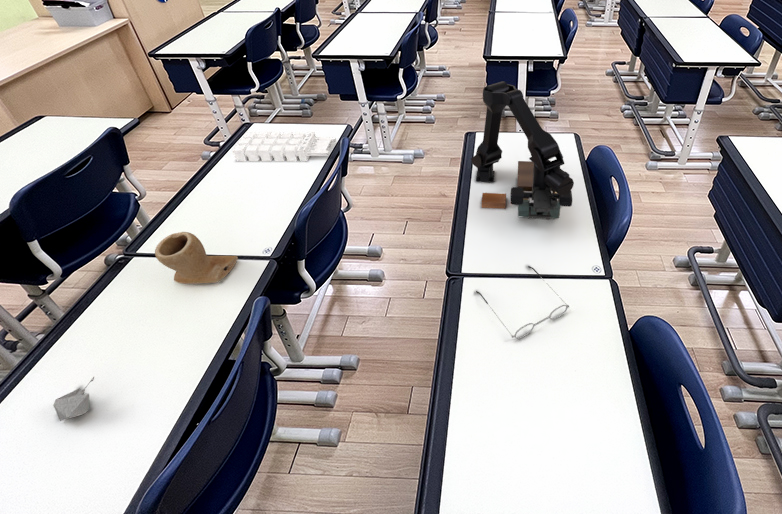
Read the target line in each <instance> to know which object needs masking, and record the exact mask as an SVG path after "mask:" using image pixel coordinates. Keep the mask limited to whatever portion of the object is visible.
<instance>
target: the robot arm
mask: <svg viewBox="0 0 782 514" xmlns="http://www.w3.org/2000/svg"><path fill="white" fill-rule="evenodd" d="M482 102H483V103H484V105H485V107H486V113H485V120H484V121H485V122H484V130H483V136H482V137H483V138H482V141H481V142H480V144H479V145H478V147H476V152H475V155H474V156H472V157H471V158H470V160H471V164H472V165H473V166H474V167H475V168H476V169H477V171H476V176H475V182H478V183H494V182H495V174H496V173H495V170H494V164H496V163H499V162H500V160H501V159H503V157H502V154H503V150H502V149H501V147H500V145H499V144H498V143H499V137H500V136H499V135H500V129H501V122H502V116H503V111H504V109H505V108H506V107H508V109H509V110H510V112H511V113H512V115H513V116H514V118H515V120H516V122H517V123H518V125H519V127H520V128H521V130H522V132H523V133H524V136H525V137H526V139H527V149H528V152H529V154H530V157H529V158H528V159H529V161H532V162H533V163H534V169H533V184H532V192H527V191H524V187H517V186H512V187H511V188H510V200H509V201H510V204H511V205H516V206H518V205H521V204H522V203H523V198H528V199H529V206H530V207H534V208H533V210H534V212H536V213H537V215H543V213H544V212H545V213H548V212H549V211H550V210H554V208H556V207H557V200H559V204H560V205H561V206H560V207H572V205H573V193H572V190H573V188H574V185H575V184H574V183H575V182H574V179H573V178H572V177H570V174H569V173H568V172H567V171H564V169H562V168H561V166H563V165H565V160H564V156H563V153H562V151H561V149H560V146H559V144H558V142H557V141H556V140H555V138H554V137H553V136H552V134H551V133H549V131H547V130H544V129H543V127H542V126H541V124H540V123H539V121H538V120H537V119H536V116H535V114H534V113H533V112H532V109H531V108H530V106H529V105H528V103H527V102H526V100H525V98H524V94H523V92H522V91H521V89H518V88H516V86H515V85H513V84H508V83H507V82H506V81H499V82H496V83H492V84H490V85H485V86H484V87H483V89H482ZM553 158H555V159H553ZM551 159H553V160H551ZM551 189H553V190H554V191H555V192H556V193H553V191H551ZM523 191H524V192H523Z"/></svg>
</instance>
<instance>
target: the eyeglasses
mask: <svg viewBox="0 0 782 514" xmlns="http://www.w3.org/2000/svg"><path fill="white" fill-rule="evenodd" d="M527 267H528V269H532V270H533V271H534V272H535V273H536V275H537V276H538V277H539V278H541V279H542V280H544V278H543V277H542V275H540V274H539V273H538V271H537V270H536V269H535V268H534V267H532V266H530V265H528V266H527ZM547 286H548V287H549V288H550V289H551V290H552V291H553V292H554V293H555V294H556V295H558V293H557V292H556V291H555V290H554V289H553V288H552V287H551V286H550V285H549V284H547ZM475 291H476V293H477V294H479V296H481V298H482V299H483V301H484V302H485V303H486V305H488V306H489V308H490V309H491V310H492V312H493V313H494V314H495V315H496V317H497V318H498V320H499V321H500V322H501V324H502V325H503V326H504V327H505V329H506V331H508V333H509V335H510V336H511V338H512V339H514V338H515V339H516V340H519V339H522V338H524V337H526V336H528V335H529V334H530V333H532V331H533V330H534V328H535V327H536V326H538V325H540V324H542V323H543V322H545V321H547V320H549V319H550V320H551V321H552V320H556V319H558V318H560V317H561V316H563V315H564V314H565V313H566V312H567V311H568V309H569V308H570V305H569V304H567V303H566V302H565V301H564V300H563V299H562V298H560V300H561V301H562V302H563V303H565V304H561V305H559V306H557V307H556V308H554V309H553V310H552V311H551V312H550V313H549V315H548V316H547V317H544V318H543V319H541V320H539V321H537V322H536V323H533V322H529V323H526V324H524V325H522V326H521V327H520V328H518V329H517V330H516V331H515V333H514V335H513V334H512V333H511V332H510V331H509V329H508V328H507V327H506V326H505V323H504V322H503V321H502V320H501V319H500V317H499V316H498V314H496V312H495V311H494V310H493V308H492V307H491V306H490V305H489V302H488V301H487V299H485V297H484V296H483V295H482V293H481V292H479V291H477V290H475ZM563 307H565V309H564V310H563V311H562V313H560V314H559V315H557V316H554V317H552V315H553V314H554V312H556V311H557V310H559V309H561V308H563ZM531 325H532V327H531V329H530V330H529V331H527V332H526V333H525V334H522V335H521V336H517V334H518V333H519V332H520V331H521V330H522V329H524V328H526V327H528V326H531Z"/></svg>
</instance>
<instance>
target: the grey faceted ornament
mask: <svg viewBox="0 0 782 514" xmlns="http://www.w3.org/2000/svg"><path fill="white" fill-rule="evenodd" d="M94 380H95V376H93V377H92V378H91V379H90V380H89V382H88V383H87V385H86V386H85V387H84V388H83V389H81V388H77V389H75V390H73V391H71V392H68V393H66V394H64V395H63V396H60V397H58V398H56V399H55V400H54V403H53V408H54V410H55V413H56V415H57V417H58V419H59V421H60V422H61V421H64V420H68V419H72V418H75V417H79V416H83V415H84V414H85V413H87V412H88V411H89V409H90V405H89V404H90V393H89V392H88V393H85V391H86V388H87V387H88V386H89V384H90V383H91V382H94Z"/></svg>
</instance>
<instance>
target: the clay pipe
mask: <svg viewBox="0 0 782 514" xmlns="http://www.w3.org/2000/svg"><path fill="white" fill-rule="evenodd" d="M154 256H155V258H156V260H157V261H158V262H159V263H161V265H163V266H164V267H166V268H168V269H170V270H172V271H175V272H174V275H173V281H174V282H175V283H178V284H185V285H186V284H187V285H188V284H189V285H191V284H214V283H218V282H220V281H221V280H223V279H224V278H225V277H227V276H228V274H229V273H230V272H231V271H232V270H233V269H234V267H235V265H236V264H237V261H238V259H239V257H238V256H237V255H207V253H206V249H205V246H204V244H203V243H202V241H201V240H200V239H199V238H198V237H197V236H196V235H195V234H193V233H192V232H188V231H180V232H175V233H171V234H169V235H167V236H165V237H164V238H163V239H161V240H160V241H159V243H158V244H157V245H156V247H155V249H154Z"/></svg>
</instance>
